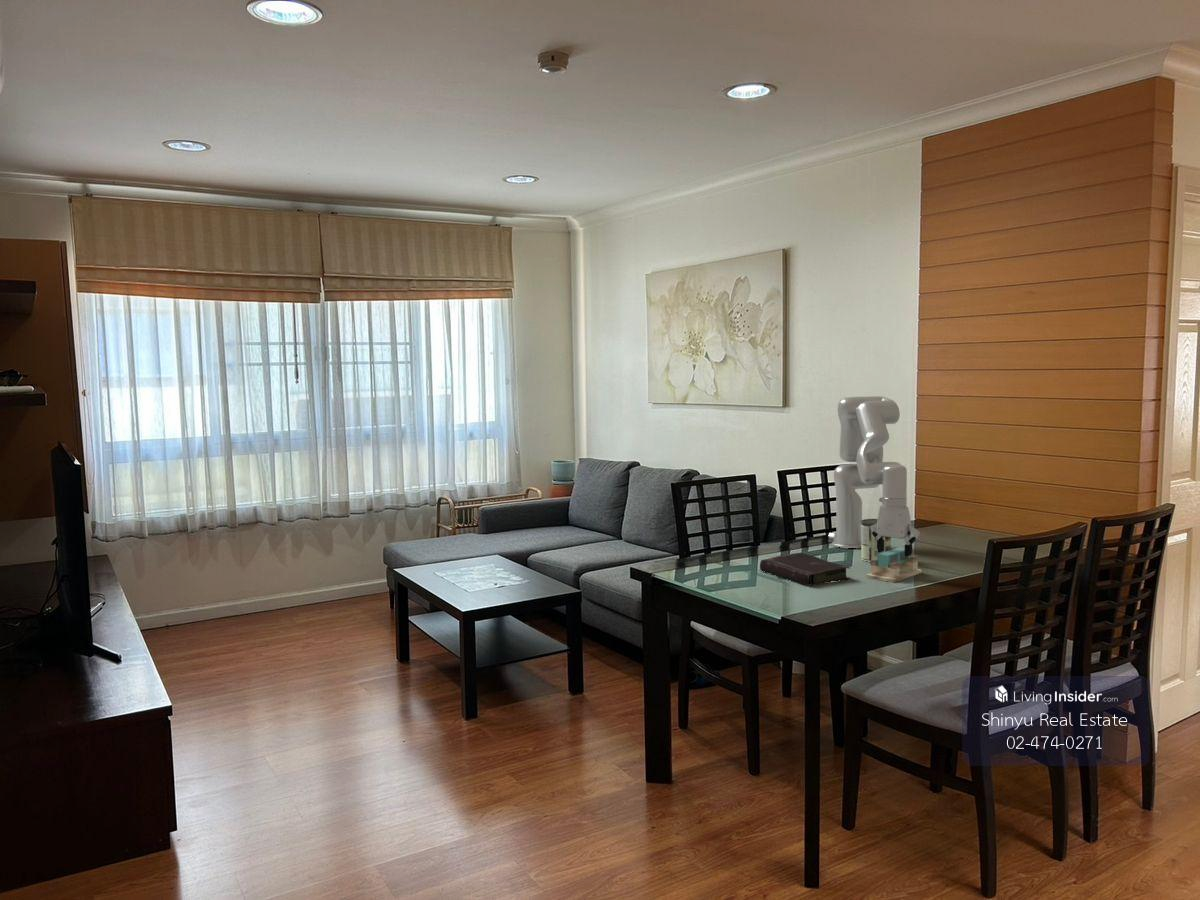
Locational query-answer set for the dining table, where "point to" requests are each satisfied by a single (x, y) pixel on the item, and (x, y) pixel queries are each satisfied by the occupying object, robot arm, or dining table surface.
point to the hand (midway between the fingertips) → (894, 553)
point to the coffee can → (871, 541)
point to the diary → (804, 569)
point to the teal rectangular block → (892, 557)
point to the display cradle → (894, 570)
